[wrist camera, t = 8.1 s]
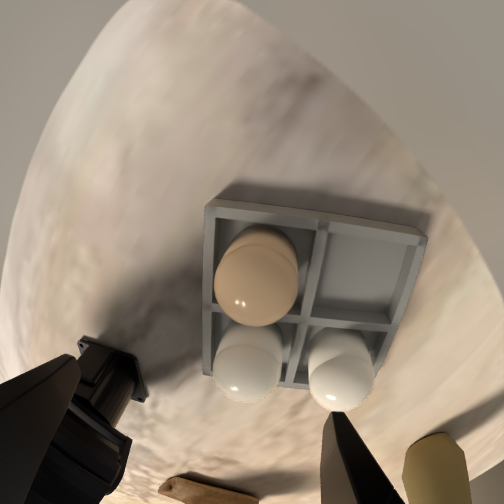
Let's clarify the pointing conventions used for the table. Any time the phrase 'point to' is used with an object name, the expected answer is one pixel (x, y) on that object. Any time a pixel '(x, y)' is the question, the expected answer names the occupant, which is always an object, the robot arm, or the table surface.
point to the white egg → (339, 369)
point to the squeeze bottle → (436, 472)
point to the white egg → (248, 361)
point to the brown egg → (257, 276)
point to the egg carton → (319, 278)
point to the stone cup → (202, 493)
